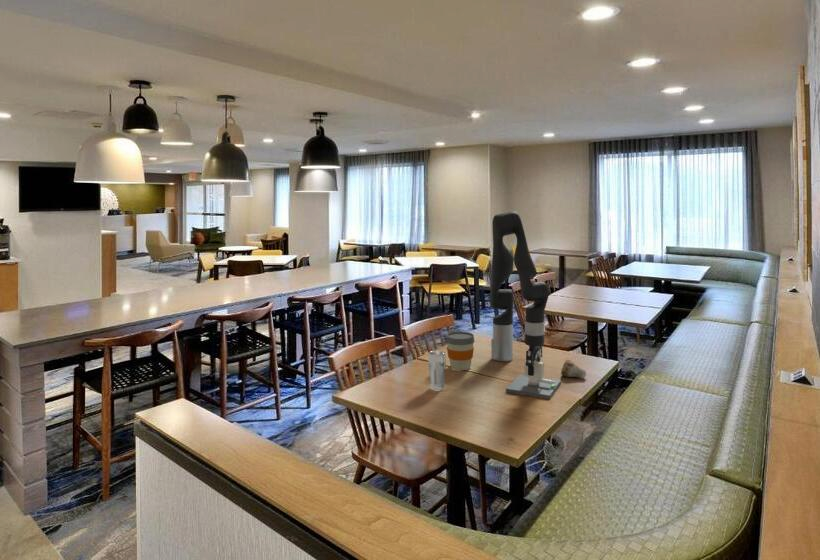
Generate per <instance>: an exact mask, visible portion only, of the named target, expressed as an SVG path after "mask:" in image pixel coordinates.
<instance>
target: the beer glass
mask: <svg viewBox="0 0 820 560" xmlns="http://www.w3.org/2000/svg"><path fill="white" fill-rule="evenodd" d="M427 363H428V366H427V367H428V372H429V376H430V377H429V378H430V384H429V385H430V386H429V389H430V388H431V389H433V390H443V389H444V388H445V389H446V386H445V373H446V364H447V360H446V352H445V351H443V350H431V351H429V352H428V361H427ZM445 389H444V390H445ZM444 390H443V391H444Z"/></svg>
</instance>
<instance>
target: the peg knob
mask: <svg viewBox="0 0 820 560" xmlns="http://www.w3.org/2000/svg"><path fill="white" fill-rule="evenodd" d="M530 363H531V361H530ZM544 369H545V363H544V361H540V362H538V361H536V362H535V364H534V375H533V376H530V375H528V366H526V360H524V375H525V376H528V384H529V385H533V386H537V385H539V384H540V382H541V383H547V384H551V380H548V379H549V378H548V379H542V378H545V374H544V371H545V370H544Z"/></svg>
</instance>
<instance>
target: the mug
mask: <svg viewBox="0 0 820 560" xmlns="http://www.w3.org/2000/svg"><path fill="white" fill-rule="evenodd" d="M560 375H562V376H564V377H566V378H569V377H570V378H578V379H585V377H586V376H587V371H586V369H583V368H581V367H579V366H578V365H577V364H576V363H575V362H574V361H572V360H571V359H566V360H565V361H564V364H563V365H562V367H561V371H560Z"/></svg>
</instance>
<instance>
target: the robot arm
mask: <svg viewBox="0 0 820 560" xmlns="http://www.w3.org/2000/svg"><path fill="white" fill-rule="evenodd" d="M491 229H492V255H491V256H492V260H491V285H490V292H489V305H490V308H491V309H493V310H504V312H502V313H499V314H496V315H494V316H493V318H492V339H491V340H490V341H491V342H490V343H491V347H490V348H491V356H490V357H491V360H494V361H497V362H509V361H512V360H513V358H514V357H513V356H514V353H513V351H514V347H513V346H514V340H513V339H514V300H515V299H514V298H515V295H514V292H513V290H512V289H510V288H509V289H508V288H502V289H501V288H500V287H501V286H502V285H503V284H504V283H505V282H506V281H507V280H508V279H509V278H510V276H511V275H512V274H513V271H514V266H515V269H516V271H517V274H518V277H519V284H520V293H521V296H522V298H523V299H524V300H525V301H527V302H532V301H533V303H532V304H531V305H529V306H527V307H526V308H525V322H524V344H525V345H526V346H528V350H526V352H525V361H526V366H528V375H530V376H533V375H534V364H535V362H536V361H538V362H541V360H542V358H543V345H545V310H546V306H547V302H548V300H549V295H550V288H549V286H548V283H546V282H544V281H535V282H532V279H534V278H535V277H536V276H537V274H538V272H537V268H536V265H535V263H534V261H533V258H532V256H531V253H530V250H529V247H528V241H527V238H526V234H525V230H524V225H523V222H522V219H521V217H520V214H519V213H518V211H506V212H502V213H498V214H495V215H494V216H493V217H492V228H491ZM509 235H515V236H516V246H515V250H514V255H513V254H512V252H511V250H509V248H508V247H507V246H506V245H505V243H504V237H505V236H509ZM530 361H531V363H530Z"/></svg>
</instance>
